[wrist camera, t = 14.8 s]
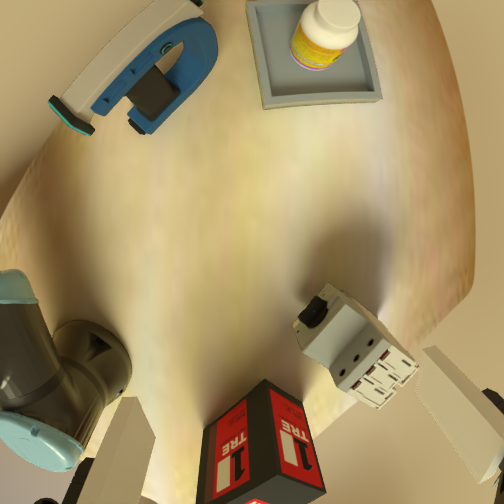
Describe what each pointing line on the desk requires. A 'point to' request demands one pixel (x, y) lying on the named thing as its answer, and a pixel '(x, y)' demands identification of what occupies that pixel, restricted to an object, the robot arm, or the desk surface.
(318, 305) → the circuit breaker
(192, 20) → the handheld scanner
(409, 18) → the desk surface
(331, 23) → the supplement bottle
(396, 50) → the desk surface
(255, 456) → the cleaning product box
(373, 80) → the tray
